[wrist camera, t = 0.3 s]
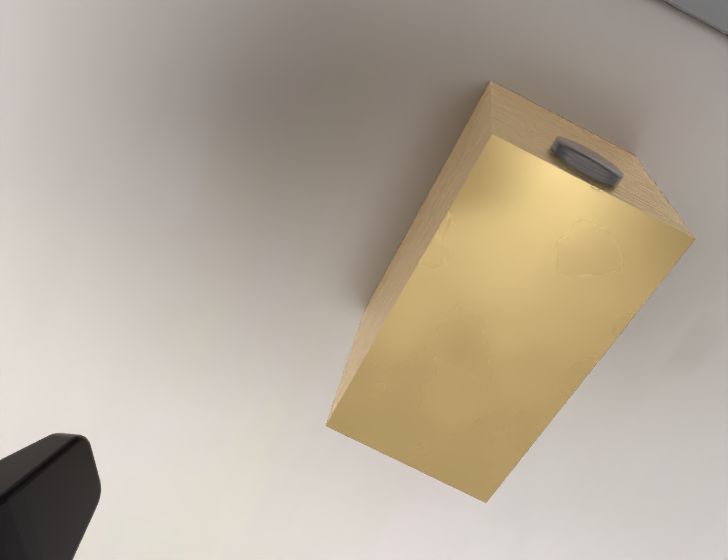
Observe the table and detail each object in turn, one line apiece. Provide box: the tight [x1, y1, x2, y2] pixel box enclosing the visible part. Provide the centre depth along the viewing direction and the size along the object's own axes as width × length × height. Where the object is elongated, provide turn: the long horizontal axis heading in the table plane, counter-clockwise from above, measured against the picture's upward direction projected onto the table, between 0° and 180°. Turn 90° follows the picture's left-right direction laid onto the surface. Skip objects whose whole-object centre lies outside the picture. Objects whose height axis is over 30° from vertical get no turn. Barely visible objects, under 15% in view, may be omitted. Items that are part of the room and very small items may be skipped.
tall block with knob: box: [326, 80, 695, 503], centre depth 17 cm, size 8×4×6 cm, turn 155°
